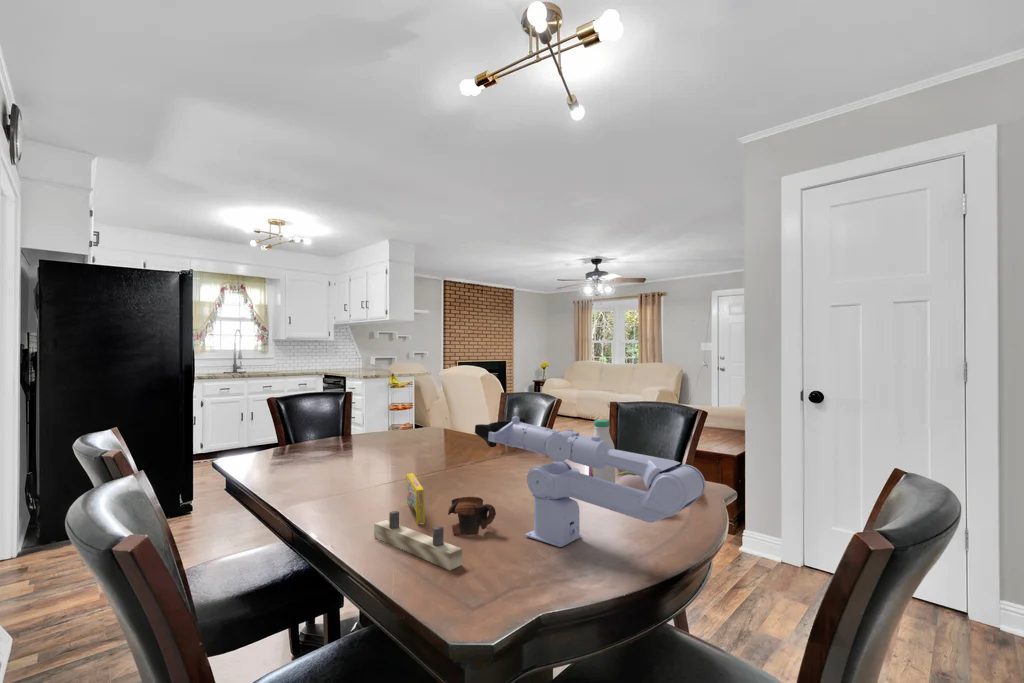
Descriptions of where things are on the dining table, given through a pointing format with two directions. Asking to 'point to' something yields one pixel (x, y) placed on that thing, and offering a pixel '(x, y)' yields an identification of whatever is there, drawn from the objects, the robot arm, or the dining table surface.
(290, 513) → the dining table surface
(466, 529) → the pottery mug
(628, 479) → the decorative fruit
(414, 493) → the candy box
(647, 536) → the dining table surface
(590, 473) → the milk bottle
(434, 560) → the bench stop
